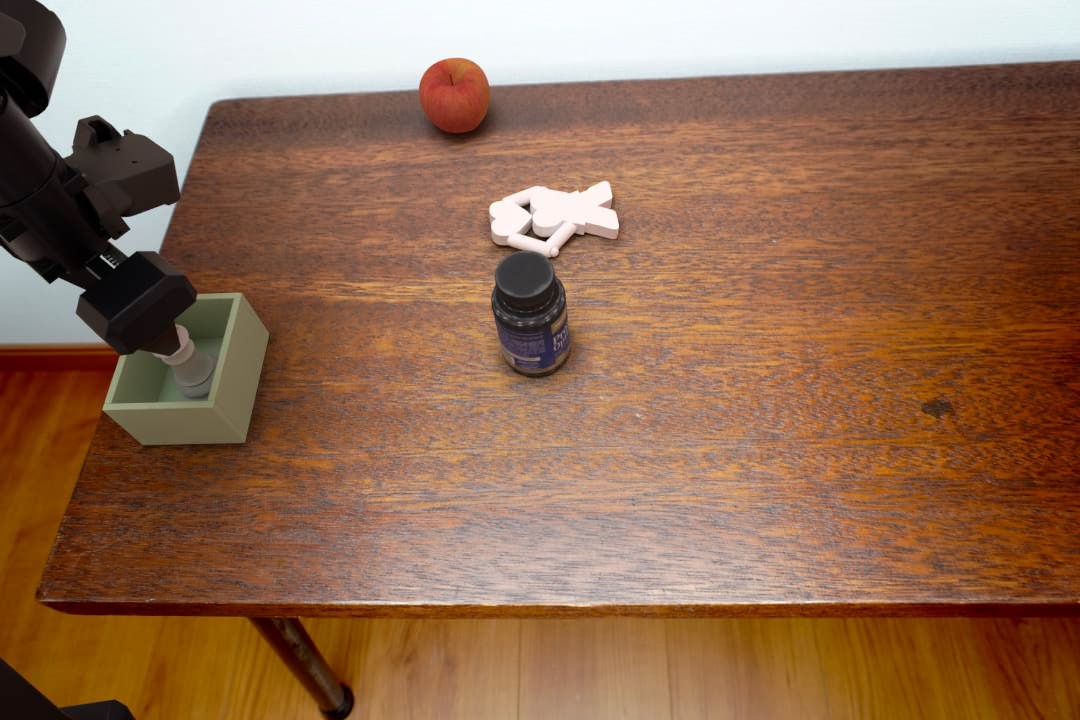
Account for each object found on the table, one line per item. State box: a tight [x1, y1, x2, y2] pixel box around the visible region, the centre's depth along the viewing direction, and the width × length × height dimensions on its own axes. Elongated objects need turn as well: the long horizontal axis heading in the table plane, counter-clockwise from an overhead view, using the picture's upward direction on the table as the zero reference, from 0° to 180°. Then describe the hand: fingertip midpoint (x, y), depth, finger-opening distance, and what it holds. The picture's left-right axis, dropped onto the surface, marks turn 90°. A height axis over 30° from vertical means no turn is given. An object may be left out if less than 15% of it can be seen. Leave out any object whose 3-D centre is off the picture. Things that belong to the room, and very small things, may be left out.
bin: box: [101, 292, 270, 446], centre depth 71 cm, size 11×9×7 cm
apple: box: [418, 57, 491, 134], centre depth 85 cm, size 7×7×8 cm
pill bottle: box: [490, 250, 571, 377], centre depth 68 cm, size 6×6×11 cm
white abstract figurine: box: [488, 180, 620, 259], centre depth 79 cm, size 9×12×2 cm
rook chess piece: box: [152, 324, 218, 402], centre depth 70 cm, size 4×4×8 cm
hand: (138, 320), depth 62 cm, fingers open, 9 cm apart
